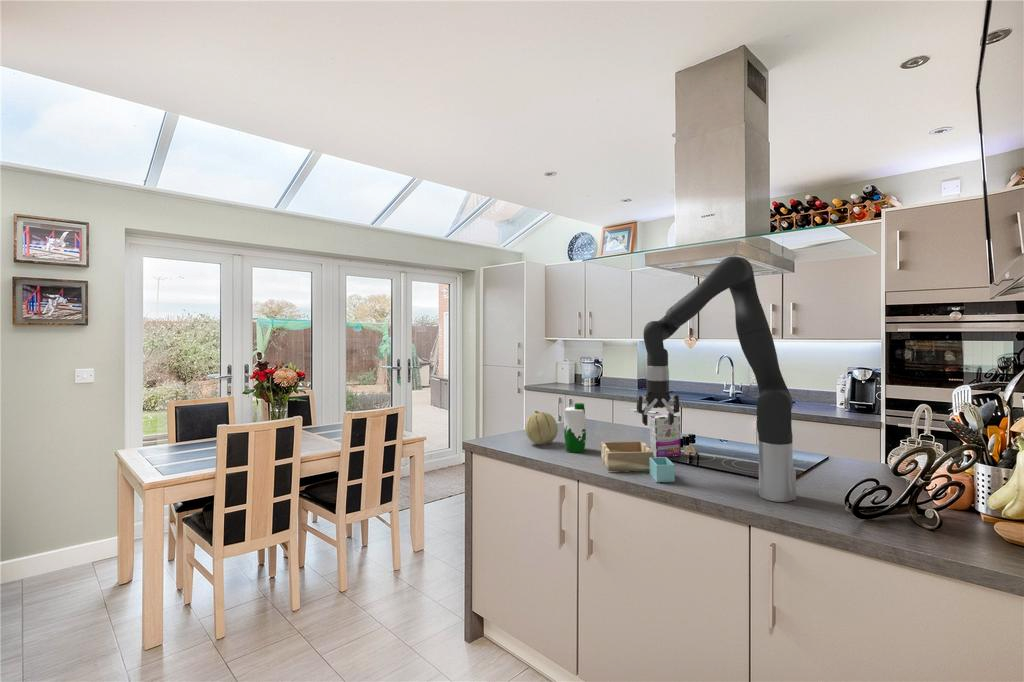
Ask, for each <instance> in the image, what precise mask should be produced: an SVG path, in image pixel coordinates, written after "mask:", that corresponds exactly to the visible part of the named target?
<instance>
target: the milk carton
mask: <svg viewBox="0 0 1024 682" xmlns="http://www.w3.org/2000/svg"><path fill="white" fill-rule="evenodd" d="M563 428H564V430H563V431H564V432H563V433H564V443H565V445H564V446H565V450H566V452H567V451H574V452H573V453H584V451H585V448H586V440H587V432H586V431H587V427H586V407H585V403H583V402H582V403H580V402H579V403H577V402H576V403H574V406H572V407H567V406H566V407H565V409H564V415H563Z"/></svg>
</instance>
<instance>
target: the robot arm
mask: <svg viewBox="0 0 1024 682" xmlns="http://www.w3.org/2000/svg"><path fill="white" fill-rule="evenodd" d="M726 290H729V291H730V294H731V296H732V299H733V303H734V309H735V310H734V311H735V312H734V313H735V315H734V317H735V318H734V319H735V330H736V334H737V338H738V341H739V344H740V347H741V350H742V352H743V354H744V357H745V359H746V361H747V363H748V365H749V366H750V368H751V371H752V372H753V374H754V377H755V380H756V384H757V390H758V393H759V394H758V395H759V396H758V397H757V401H756V428H757V429H756V430H757V435H758V437H757V438H758V496H759V497H760V498H762V499H763V500H767V501H770V502H779V503H780V502H781V503H786V502H791V501H795V500H797V472H796V471H797V470H796V468H795V466H794V459H793V454H794V453H793V449H794V448H793V429H792V426H793V425H792V409H793V404H794V403H793V398H792V397H793V396H792V395H791V393H790V391H789V388H788V386H787V384H786V382H785V379H784V378H783V374H782V371H781V369H780V364H779V360H778V355H777V350H776V345H775V342H774V338H773V335H772V331H771V328H770V325H769V322H768V320H767V317H766V314H765V311H764V308H763V306H762V303H761V300H760V297H759V293H758V291H757V286H756V280H755V272H754V269H753V266H752V264H751V263H750V261H748V260H747V259H746V258H744V257H740V256H728V257H725V258H723V259H722V260H721V261H720V262H719V263H718V264H717V265H716V266H715V267H714V269H712V270H711V272H710V273H709V274H708V275H707V276H706V277H705V278H704V279H703V281H701V282H700V283H699V284H698V285H697V286H696V287H695V288H693V289H692V290H691V291H690V292H688V293H687V294H686V295H685V296H683V297H682V298H681V299H679V300H678V301H677V302H676V303H674V304H673V305H672V306H671V307H669V308H668V309H667V310H666V312H665V315H664V316H663V317H661V318H660V319H659V320H651V321H649V322H647V323H646V325H645V326H644V329H643V341H644V342H643V343H644V347H645V350H646V353H647V356H646V365H647V366H646V376H645V378H646V394H645V395H640V394H638V395H637V398H636V412H637V413H638V414H641V417H642V418H641V419H642V420H641V422H642V424H643V425H644V426H649V424H648V422H649V421H648V414H649V412H650V411H651V410H652V409H653V408H654V409H657V408H661V409H664V408H665V409H666V411H667V412H668V413H667V414H668V424H669V425H672V423H674V414H677V413H679V412H680V397H679V395H678V394H672V395H671V394H670V370H669V353H668V350H667V349H666V348H665V347H664V341H665V340H667V339H669V338H671V336H673V335H674V334H675V333H676V332H677V331H678V330H679V328H680V327H682V326H683V325H685V324H687V322H688V321H690V320H691V319H692V318H694V317H695V316H696V315H697V314H699V313H700V312H701V311H702V309H704V307H705V306H706V305H707V304H708V303H709V302H710V301H712V299H714V298H715V297H716V296H718V295H719V294H721V293H722V292H724V291H726ZM645 400H646V401H647V403H646V405H645V406H644V407H643V403H644V402H645ZM670 400H671V401H672V402H673V404H672V405H673V408H672V407H671V405H670V404H669V401H670Z"/></svg>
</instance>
